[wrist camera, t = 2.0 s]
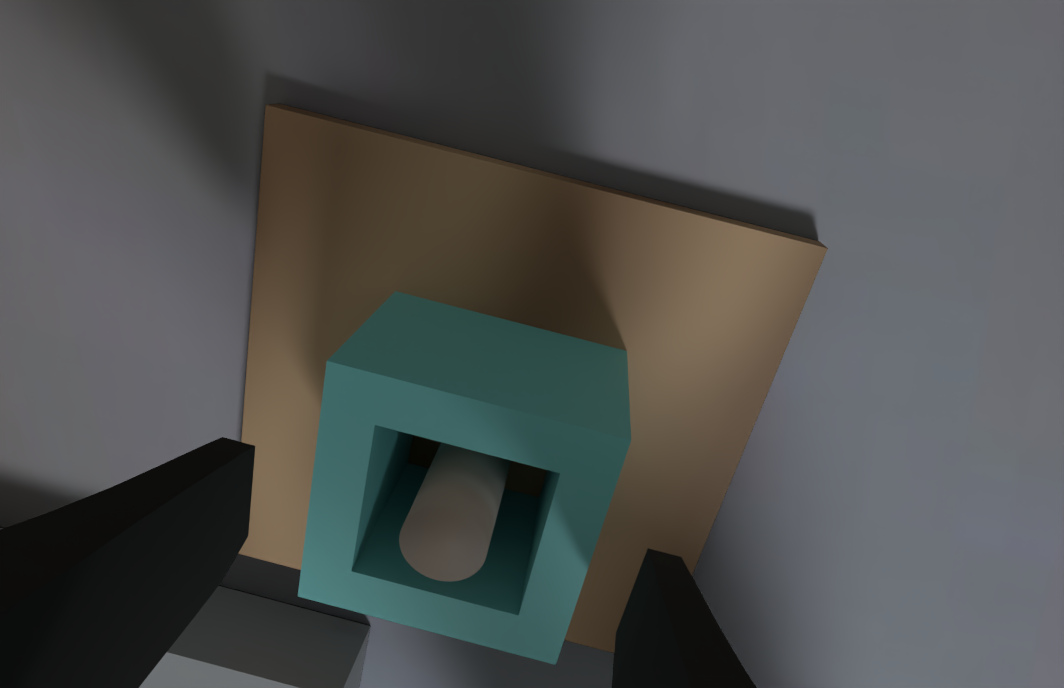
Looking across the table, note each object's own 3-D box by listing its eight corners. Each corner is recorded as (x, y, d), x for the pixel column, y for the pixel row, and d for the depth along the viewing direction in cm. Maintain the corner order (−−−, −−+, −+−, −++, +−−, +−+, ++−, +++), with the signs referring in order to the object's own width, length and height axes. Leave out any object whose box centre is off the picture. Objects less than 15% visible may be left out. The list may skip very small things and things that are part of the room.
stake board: (819, 241, 15) (920, 326, 10) (653, 646, 19) (667, 838, 14) (278, 103, 15) (116, 120, 10) (244, 538, 19) (122, 692, 15)
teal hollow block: (627, 350, 15) (631, 440, 12) (554, 580, 18) (539, 712, 14) (394, 291, 15) (326, 360, 12) (357, 528, 18) (291, 646, 14)
